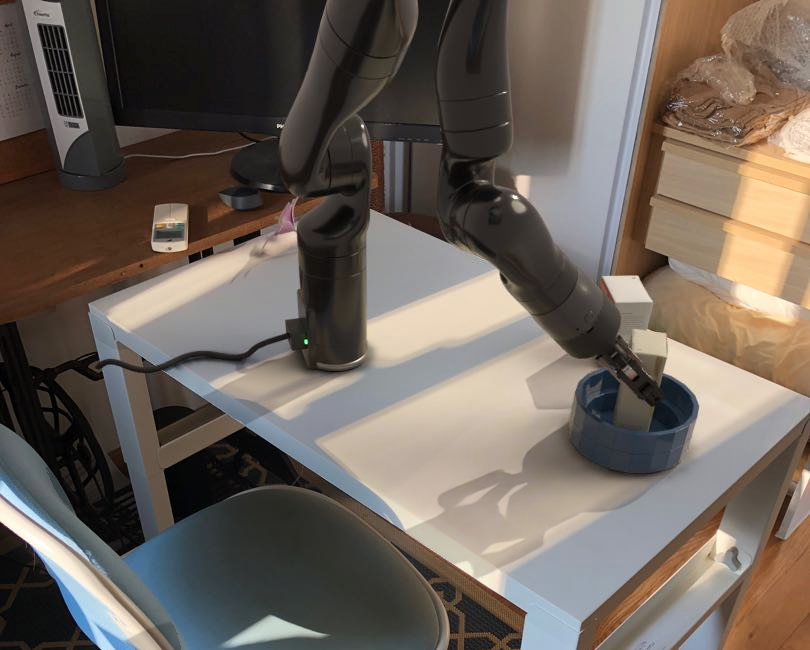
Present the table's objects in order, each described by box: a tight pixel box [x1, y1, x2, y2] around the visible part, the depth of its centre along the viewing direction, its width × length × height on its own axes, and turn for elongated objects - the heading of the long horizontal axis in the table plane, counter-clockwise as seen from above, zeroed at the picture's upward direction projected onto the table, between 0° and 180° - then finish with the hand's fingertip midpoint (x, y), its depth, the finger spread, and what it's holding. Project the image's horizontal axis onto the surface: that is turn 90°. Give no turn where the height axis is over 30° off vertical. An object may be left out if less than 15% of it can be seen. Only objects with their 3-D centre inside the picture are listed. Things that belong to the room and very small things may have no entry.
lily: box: [258, 196, 299, 255], centre depth 156 cm, size 12×12×10 cm
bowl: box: [567, 366, 700, 474], centre depth 118 cm, size 15×15×6 cm
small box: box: [598, 275, 654, 345], centre depth 132 cm, size 8×6×10 cm
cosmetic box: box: [613, 329, 669, 432], centre depth 114 cm, size 6×4×12 cm
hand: (642, 383), depth 114 cm, fingers closed on cosmetic box, 7 cm apart
